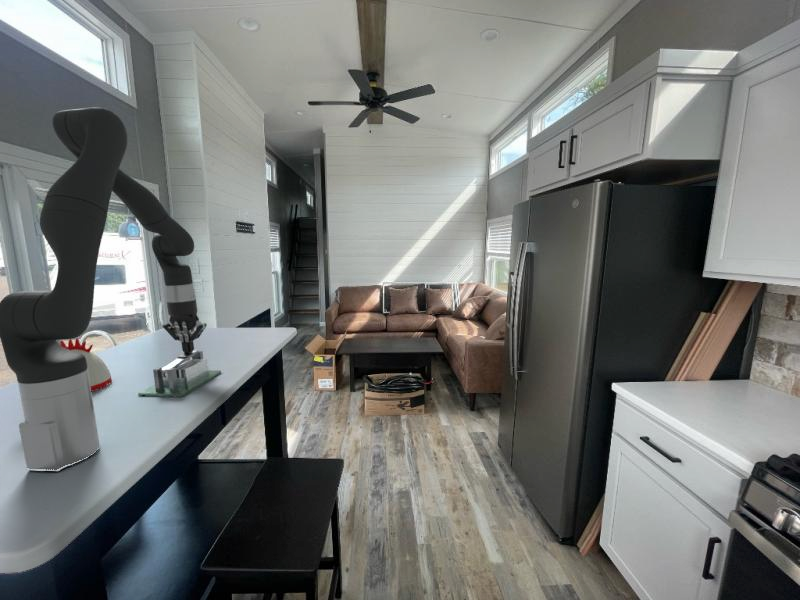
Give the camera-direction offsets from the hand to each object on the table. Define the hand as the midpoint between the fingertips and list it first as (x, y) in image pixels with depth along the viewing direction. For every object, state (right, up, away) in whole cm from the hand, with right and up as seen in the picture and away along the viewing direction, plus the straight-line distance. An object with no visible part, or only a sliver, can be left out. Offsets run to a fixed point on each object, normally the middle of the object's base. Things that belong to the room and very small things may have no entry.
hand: (188, 352), depth 103 cm
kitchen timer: (-29, -10, -5) cm, 31 cm away
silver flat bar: (0, -2, -4) cm, 5 cm away
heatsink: (0, -9, -2) cm, 9 cm away
